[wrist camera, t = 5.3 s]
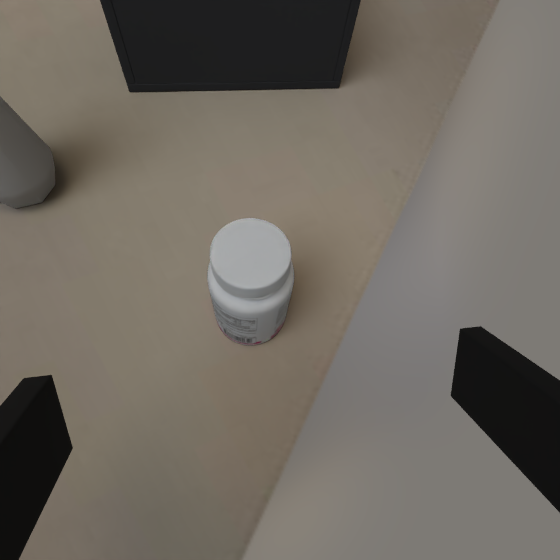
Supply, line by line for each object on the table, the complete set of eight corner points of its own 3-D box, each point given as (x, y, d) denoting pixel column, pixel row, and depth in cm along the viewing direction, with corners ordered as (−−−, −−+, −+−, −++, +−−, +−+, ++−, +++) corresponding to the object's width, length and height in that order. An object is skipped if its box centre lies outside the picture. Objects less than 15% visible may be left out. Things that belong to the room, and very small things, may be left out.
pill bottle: (264, 271, 27) (271, 197, 19) (297, 326, 25) (319, 270, 18) (203, 298, 26) (185, 231, 18) (234, 359, 24) (228, 313, 17)
